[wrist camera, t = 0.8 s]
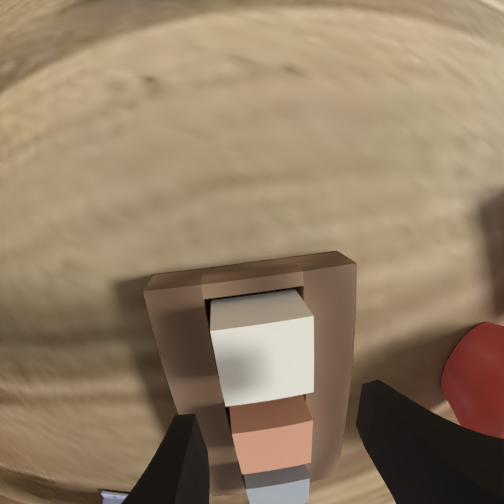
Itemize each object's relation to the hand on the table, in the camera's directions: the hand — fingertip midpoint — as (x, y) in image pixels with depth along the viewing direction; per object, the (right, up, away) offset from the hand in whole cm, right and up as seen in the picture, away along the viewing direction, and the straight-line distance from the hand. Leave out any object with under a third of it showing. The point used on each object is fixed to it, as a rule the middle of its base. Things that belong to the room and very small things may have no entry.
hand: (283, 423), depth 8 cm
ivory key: (-1, +2, +6) cm, 6 cm away
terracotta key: (0, -4, +8) cm, 9 cm away
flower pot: (+19, -4, +12) cm, 23 cm away
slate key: (0, -10, +9) cm, 14 cm away
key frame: (0, -4, +10) cm, 10 cm away
